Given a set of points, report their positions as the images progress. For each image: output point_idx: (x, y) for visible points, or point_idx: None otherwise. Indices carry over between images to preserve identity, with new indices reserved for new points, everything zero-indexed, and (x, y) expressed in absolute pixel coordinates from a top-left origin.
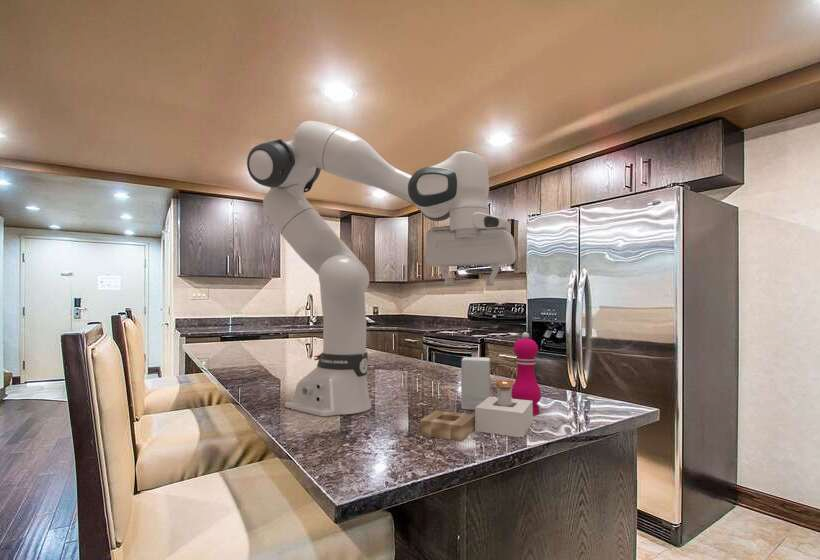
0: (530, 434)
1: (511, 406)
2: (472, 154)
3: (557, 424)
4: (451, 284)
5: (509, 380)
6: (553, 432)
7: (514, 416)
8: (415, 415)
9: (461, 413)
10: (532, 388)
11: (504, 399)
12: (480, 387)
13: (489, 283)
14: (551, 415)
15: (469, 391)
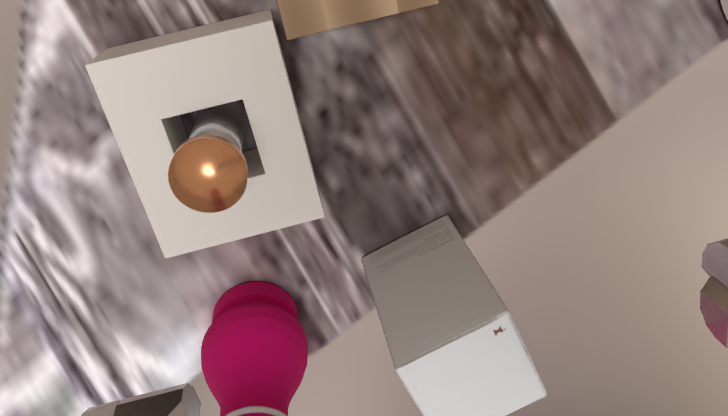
0: None
1: None
2: None
3: (108, 259)
4: (716, 263)
5: (201, 207)
6: (69, 172)
7: (121, 54)
8: (540, 42)
9: (338, 25)
10: (213, 352)
11: (199, 129)
12: (403, 284)
13: (124, 405)
14: (176, 336)
15: (437, 257)
